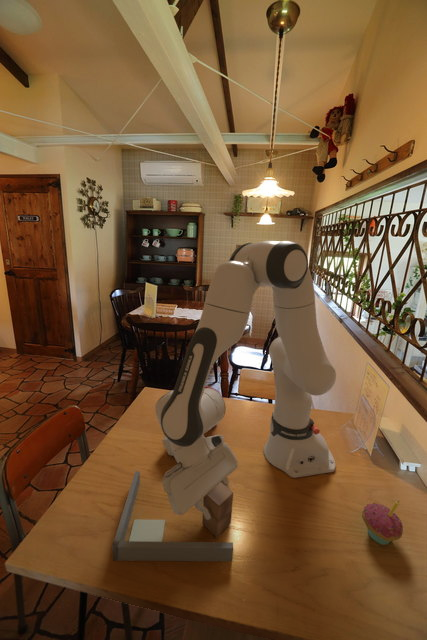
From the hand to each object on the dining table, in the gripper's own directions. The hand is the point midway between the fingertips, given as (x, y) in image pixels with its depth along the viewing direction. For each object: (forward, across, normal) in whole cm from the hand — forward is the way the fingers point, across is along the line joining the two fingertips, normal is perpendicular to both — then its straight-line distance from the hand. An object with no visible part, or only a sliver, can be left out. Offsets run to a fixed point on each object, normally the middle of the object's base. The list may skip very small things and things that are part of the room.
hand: (219, 508), depth 67 cm
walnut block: (+3, 0, +4) cm, 5 cm away
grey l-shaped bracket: (-2, -5, +10) cm, 12 cm away
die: (-14, +8, +23) cm, 28 cm away
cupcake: (+25, +27, -16) cm, 40 cm away
